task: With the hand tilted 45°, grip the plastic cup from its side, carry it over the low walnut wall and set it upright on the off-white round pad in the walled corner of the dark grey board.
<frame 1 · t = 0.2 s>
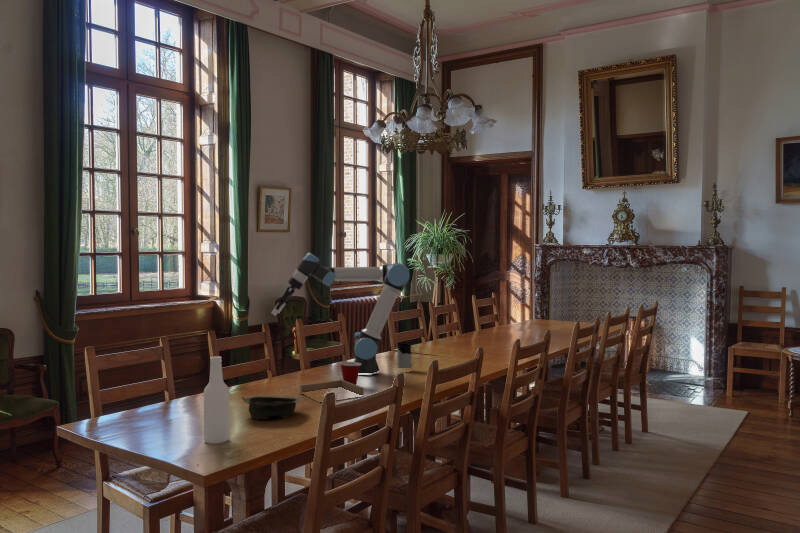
hand: (275, 313, 335), 35 cm above the table, tool tilted 35°, fingers open, 13 cm apart
plastic cup: (350, 386, 318), on the table
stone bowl: (273, 416, 263), on the table
alcohol: (216, 441, 227), on the table
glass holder: (408, 371, 359), on the table
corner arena: (331, 395, 298), on the table
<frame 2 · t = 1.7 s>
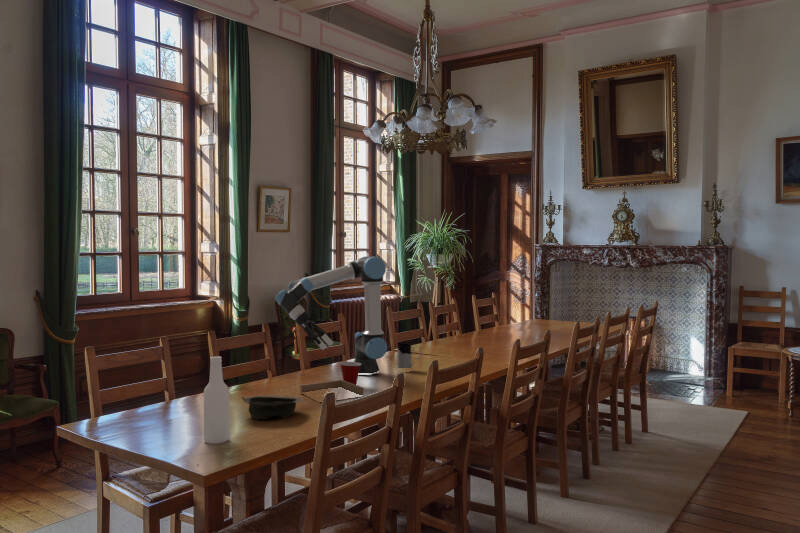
hand: (328, 346, 319), 20 cm above the table, tool tilted 45°, fingers open, 13 cm apart
nothing on the table moved.
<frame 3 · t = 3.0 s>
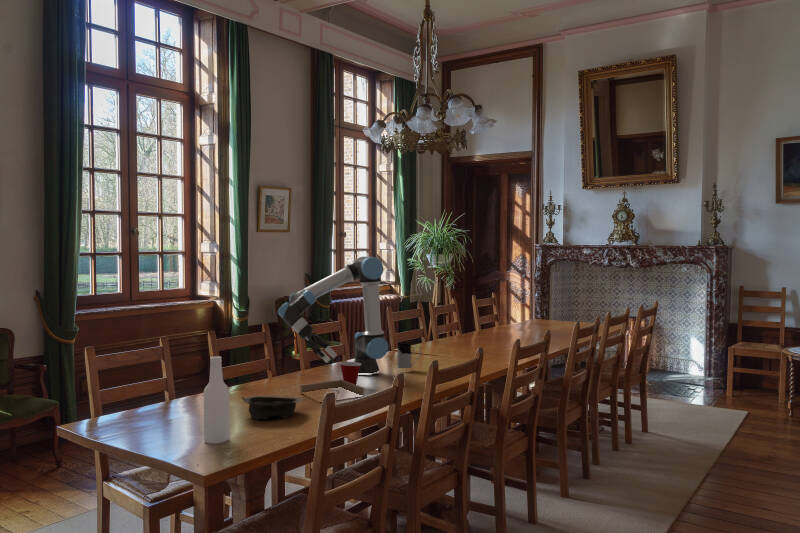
hand: (332, 358, 319), 14 cm above the table, tool tilted 45°, fingers open, 13 cm apart
nothing on the table moved.
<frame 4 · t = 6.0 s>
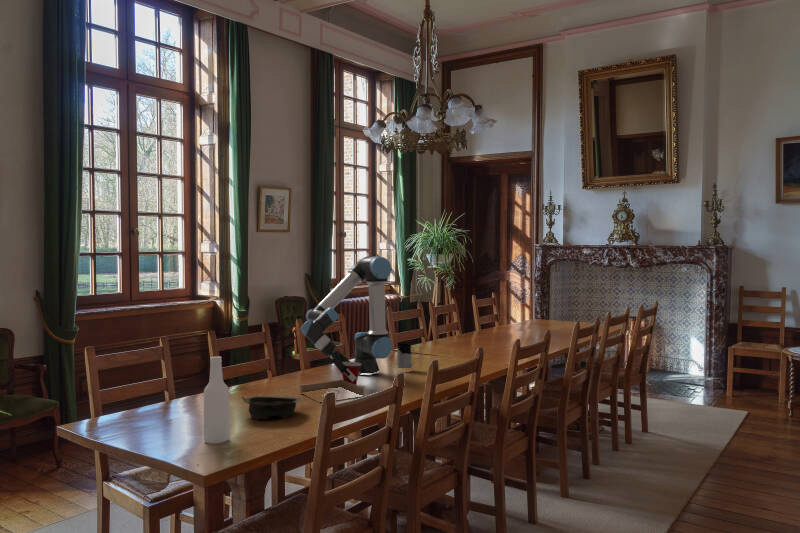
hand: (356, 377, 318), 4 cm above the table, tool tilted 45°, fingers closed on plastic cup, 10 cm apart
plastic cup: (350, 386, 318), on the table, touching gripper
everything else where it was.
when the fingers open (7 cm above the table, at t = 12.2 s): plastic cup moves 3 cm, resting on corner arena.
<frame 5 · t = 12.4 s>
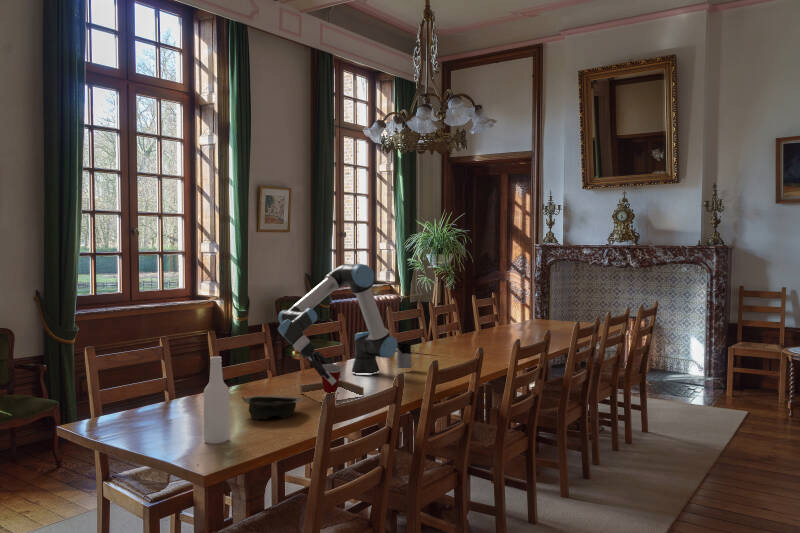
hand: (337, 380, 297), 7 cm above the table, tool tilted 45°, fingers open, 11 cm apart
plastic cup: (330, 391, 300), point 1 cm above the table, touching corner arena, gripper
everything else where it was.
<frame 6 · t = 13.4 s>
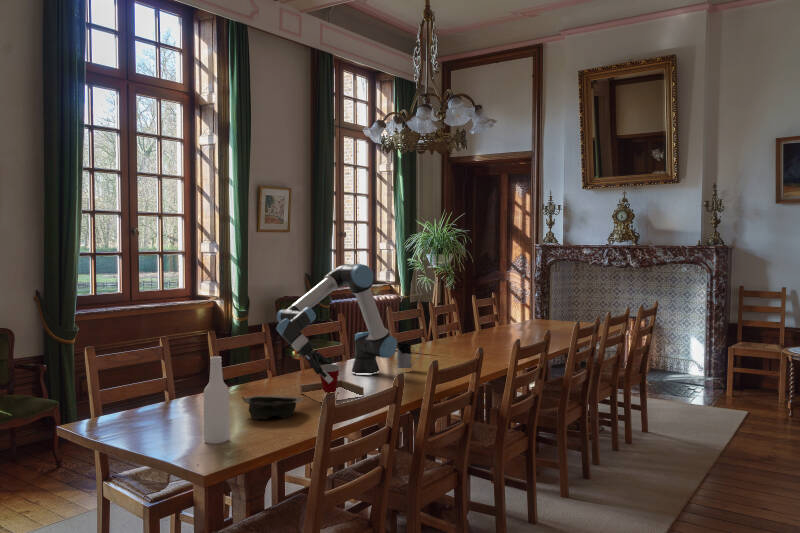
hand: (334, 378, 298), 8 cm above the table, tool tilted 45°, fingers open, 13 cm apart
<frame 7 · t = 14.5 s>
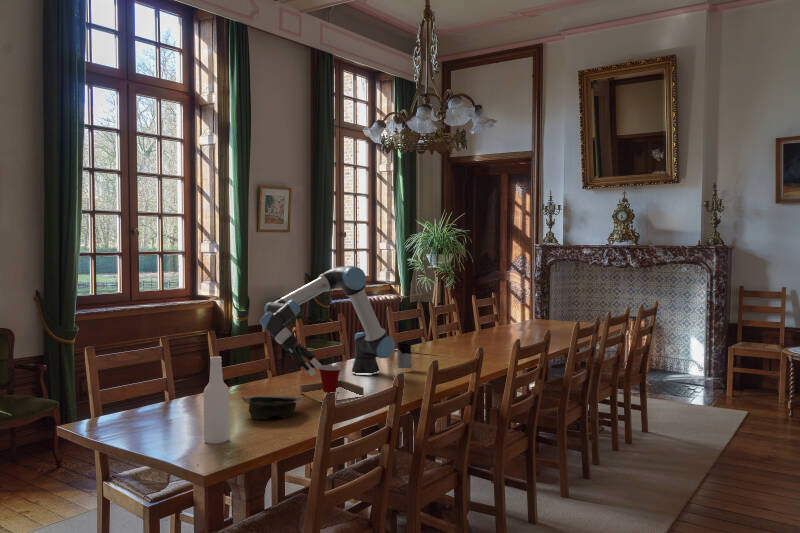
hand: (317, 371, 298), 11 cm above the table, tool tilted 45°, fingers open, 13 cm apart
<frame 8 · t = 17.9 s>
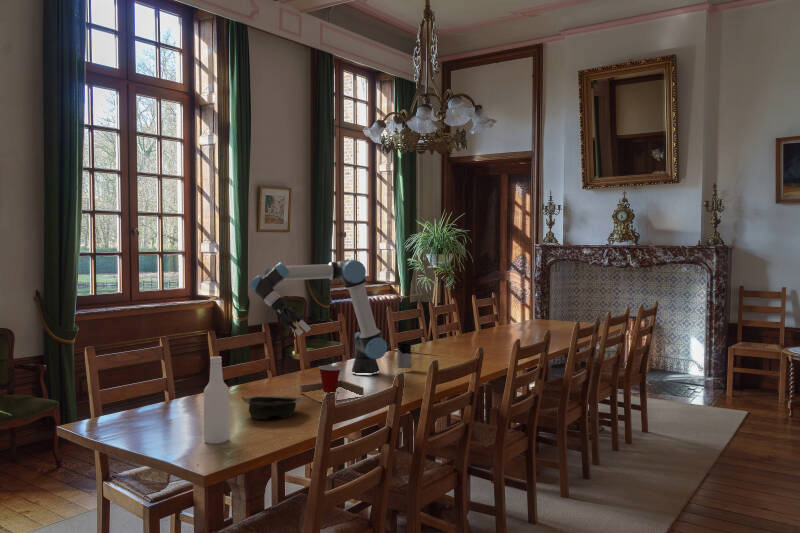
hand: (305, 332, 315), 28 cm above the table, tool tilted 45°, fingers open, 13 cm apart
plastic cup: (330, 392, 301), point 1 cm above the table, touching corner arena
everything else where it was.
at the end: plastic cup inside the target area on the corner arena (3.1 cm from its centre), point 0.9 cm above the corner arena's base; plastic cup tilted 0°; the gripper is holding nothing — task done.
